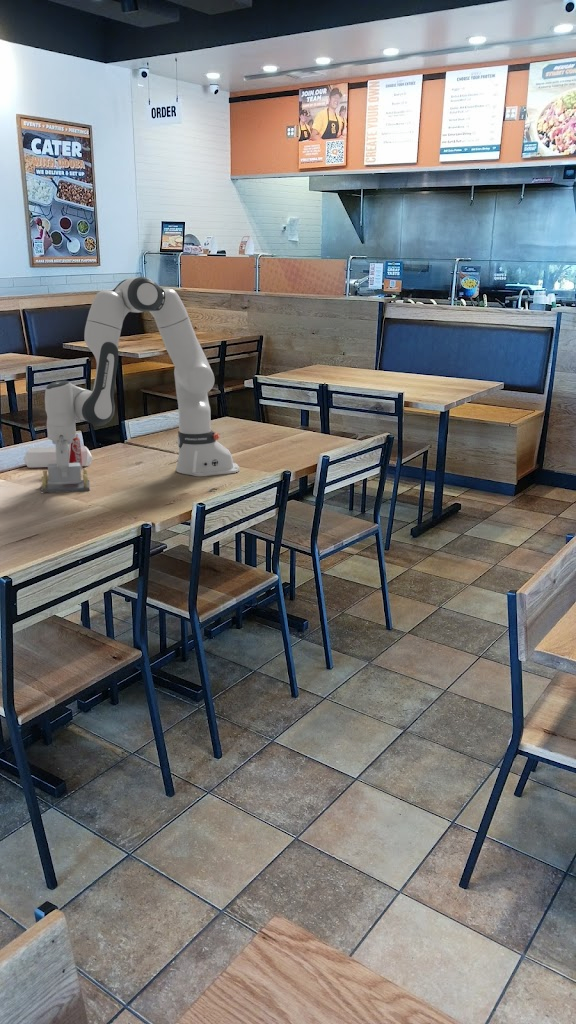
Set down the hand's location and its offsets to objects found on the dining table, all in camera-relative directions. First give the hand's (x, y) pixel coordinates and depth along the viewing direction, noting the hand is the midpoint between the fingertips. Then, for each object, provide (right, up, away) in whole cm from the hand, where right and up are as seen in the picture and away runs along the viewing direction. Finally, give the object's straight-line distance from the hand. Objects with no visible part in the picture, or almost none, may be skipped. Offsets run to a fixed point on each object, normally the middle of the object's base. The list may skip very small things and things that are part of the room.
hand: (65, 474), depth 255 cm
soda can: (-3, +2, +21) cm, 21 cm away
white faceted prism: (-10, +4, +29) cm, 31 cm away
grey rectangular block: (0, -2, +1) cm, 2 cm away
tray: (0, -4, +1) cm, 5 cm away
